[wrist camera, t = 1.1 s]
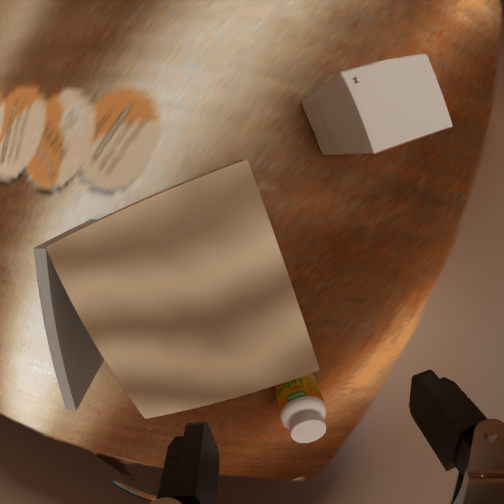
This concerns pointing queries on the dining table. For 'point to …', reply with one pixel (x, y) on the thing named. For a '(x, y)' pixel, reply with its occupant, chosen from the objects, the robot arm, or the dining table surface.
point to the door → (65, 330)
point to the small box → (377, 107)
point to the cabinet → (188, 294)
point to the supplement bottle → (302, 408)
